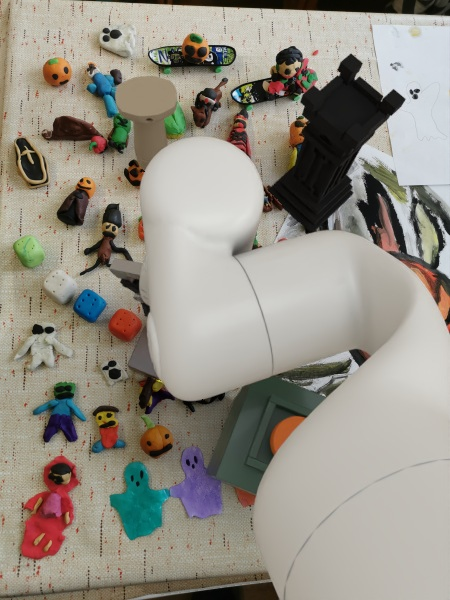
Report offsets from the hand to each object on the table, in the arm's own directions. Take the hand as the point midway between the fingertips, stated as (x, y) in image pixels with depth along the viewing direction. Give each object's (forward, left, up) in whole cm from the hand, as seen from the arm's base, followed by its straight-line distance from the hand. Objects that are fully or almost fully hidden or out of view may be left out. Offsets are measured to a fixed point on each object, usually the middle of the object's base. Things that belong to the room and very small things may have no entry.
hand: (195, 321), depth 60 cm
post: (-10, -12, -7) cm, 17 cm away
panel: (0, 0, -7) cm, 7 cm away
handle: (+18, +13, -7) cm, 24 cm away
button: (-10, -12, +15) cm, 21 cm away
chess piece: (+23, -7, -7) cm, 25 cm away
